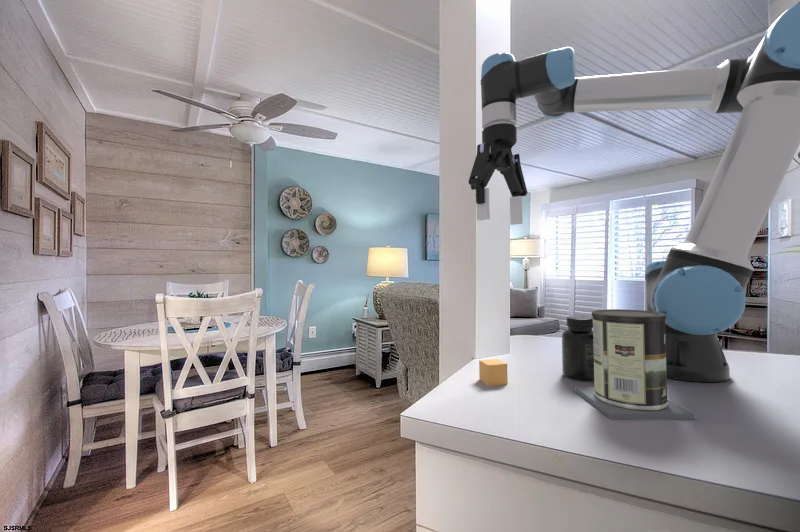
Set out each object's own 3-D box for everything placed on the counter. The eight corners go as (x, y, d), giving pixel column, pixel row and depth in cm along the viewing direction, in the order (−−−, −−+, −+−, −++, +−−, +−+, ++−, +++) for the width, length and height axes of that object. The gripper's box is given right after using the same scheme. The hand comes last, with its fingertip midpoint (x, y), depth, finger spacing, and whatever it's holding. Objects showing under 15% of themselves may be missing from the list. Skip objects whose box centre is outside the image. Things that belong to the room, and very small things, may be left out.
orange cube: (497, 378, 74) (497, 358, 74) (507, 384, 71) (507, 363, 71) (479, 380, 74) (479, 360, 74) (488, 386, 70) (488, 365, 70)
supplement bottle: (597, 373, 76) (596, 316, 76) (602, 383, 70) (600, 320, 70) (562, 370, 79) (561, 315, 79) (563, 379, 73) (561, 319, 73)
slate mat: (643, 391, 65) (643, 386, 65) (695, 419, 53) (695, 413, 53) (575, 391, 66) (575, 387, 66) (611, 419, 54) (611, 413, 54)
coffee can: (649, 390, 63) (647, 309, 63) (682, 413, 53) (680, 316, 53) (585, 387, 65) (583, 308, 66) (605, 409, 55) (603, 316, 55)
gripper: (512, 144, 93) (514, 227, 93) (450, 118, 77) (452, 219, 76) (541, 136, 88) (542, 224, 88) (480, 106, 71) (482, 215, 71)
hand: (500, 222), depth 82 cm, fingers open, 13 cm apart
